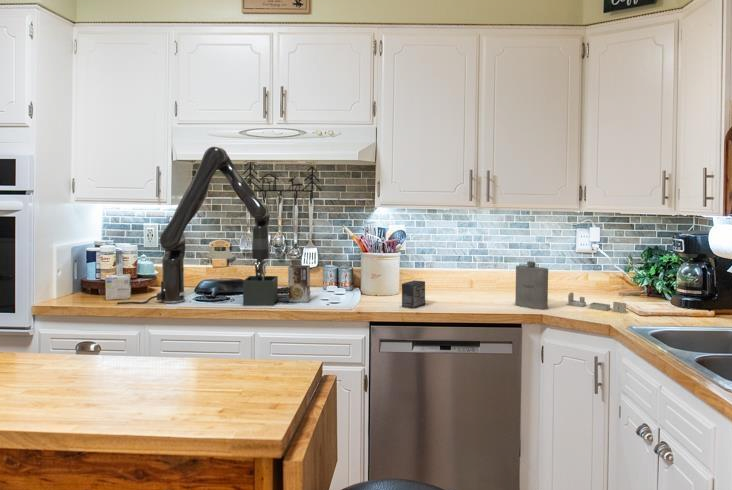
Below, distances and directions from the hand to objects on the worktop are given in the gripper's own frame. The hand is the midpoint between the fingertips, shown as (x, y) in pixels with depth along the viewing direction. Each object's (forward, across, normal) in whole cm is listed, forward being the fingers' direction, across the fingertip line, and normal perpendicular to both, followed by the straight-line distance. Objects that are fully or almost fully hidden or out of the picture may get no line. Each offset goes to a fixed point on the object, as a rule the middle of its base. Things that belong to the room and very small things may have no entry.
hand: (260, 285), depth 278 cm
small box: (+8, +5, +69) cm, 70 cm away
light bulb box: (+8, -8, -68) cm, 69 cm away
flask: (+8, +6, +121) cm, 121 cm away
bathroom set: (+8, +8, +150) cm, 150 cm away
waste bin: (+8, 0, 0) cm, 8 cm away
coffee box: (+8, -4, +17) cm, 19 cm away
